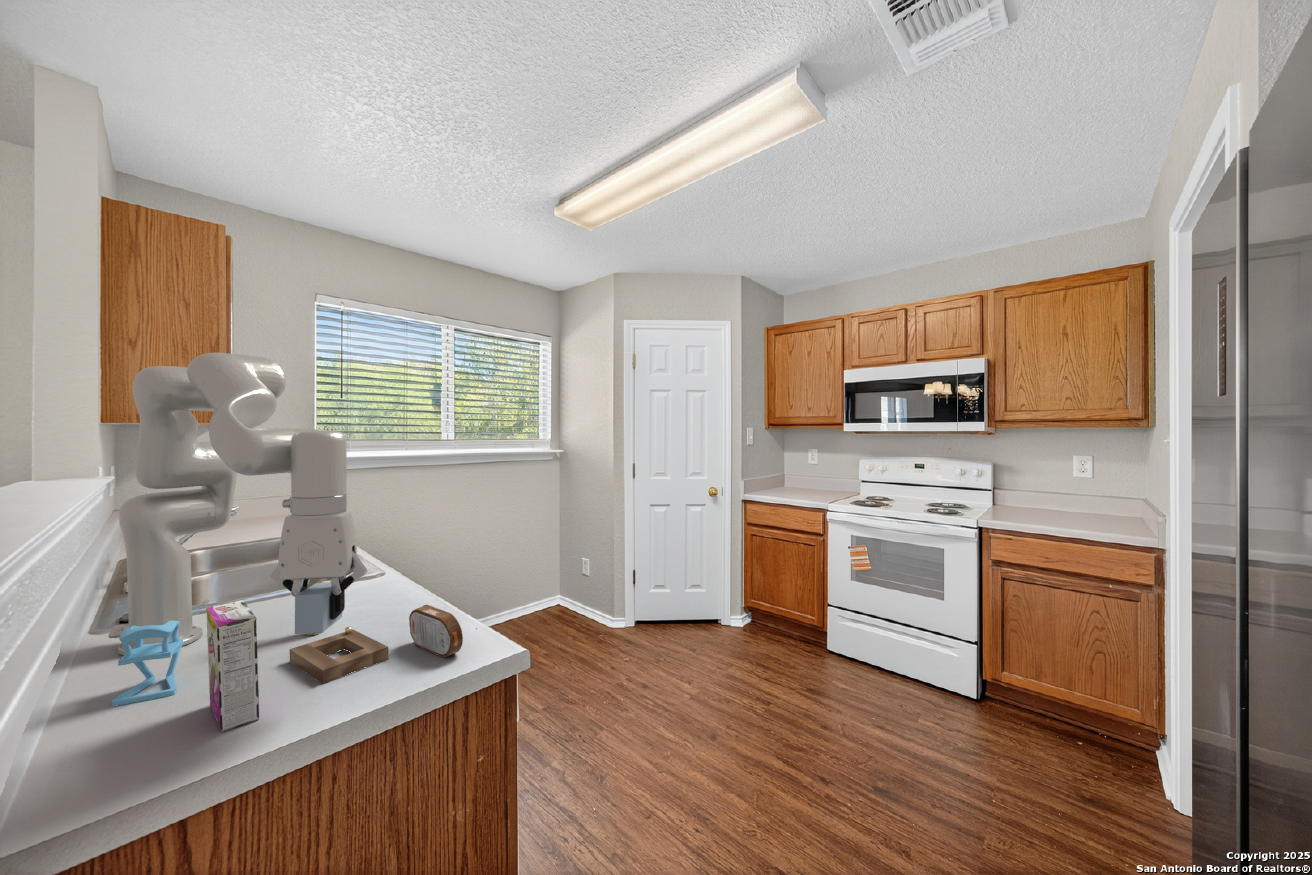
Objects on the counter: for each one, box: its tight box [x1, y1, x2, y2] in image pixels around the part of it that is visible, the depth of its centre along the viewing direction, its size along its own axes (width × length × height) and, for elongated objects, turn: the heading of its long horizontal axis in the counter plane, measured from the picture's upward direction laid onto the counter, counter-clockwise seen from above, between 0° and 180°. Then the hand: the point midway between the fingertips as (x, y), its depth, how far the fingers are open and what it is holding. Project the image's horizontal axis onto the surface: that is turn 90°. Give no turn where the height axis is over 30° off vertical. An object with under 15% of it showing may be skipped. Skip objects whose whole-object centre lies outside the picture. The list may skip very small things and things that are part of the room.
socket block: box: [289, 626, 389, 685], centre depth 98 cm, size 12×14×4 cm
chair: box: [111, 621, 183, 707], centre depth 87 cm, size 8×8×12 cm
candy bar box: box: [205, 599, 260, 733], centre depth 80 cm, size 11×5×16 cm, turn 48°
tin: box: [408, 604, 464, 658], centre depth 102 cm, size 15×3×8 cm, turn 57°
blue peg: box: [294, 581, 343, 635], centre depth 82 cm, size 4×7×6 cm, turn 10°
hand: (320, 615), depth 83 cm, fingers closed on blue peg, 4 cm apart
